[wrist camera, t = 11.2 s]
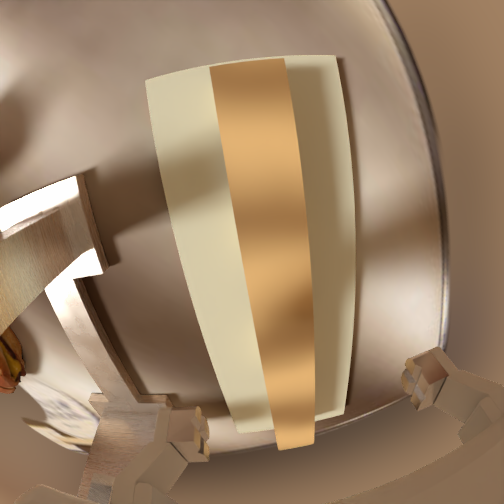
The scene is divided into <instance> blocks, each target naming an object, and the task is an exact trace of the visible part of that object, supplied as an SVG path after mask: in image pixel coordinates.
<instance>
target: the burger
mask: <svg viewBox="0 0 504 504" xmlns="http://www.w3.org/2000/svg"><path fill="white" fill-rule="evenodd" d="M21 348H22V347H21V345H20V342H19V340H18V339H17V337H16V335H15V334H14V332H13V331H12V329H11V328H10V327H9V326H8V328H7V329H6V330H5V331H4V332H3V333H2V334H1V336H0V392H2V393H6V394H10V393H13V392H14V391H15V389H16V388H15V386H16V385H18V383H19V382H21V381H20V376H25V375H26V372H25V371H24V360H23V359H22V356H21V354H22V350H21Z"/></svg>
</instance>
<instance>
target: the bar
mask: <svg viewBox="0 0 504 504" xmlns="http://www.w3.org/2000/svg"><path fill="white" fill-rule="evenodd" d="M209 69H210V75H211V81H212V88H213V94H214V100H215V106H216V112H217V118H218V125H219V131H220V137H221V143H222V148H223V154H224V160H225V166H226V172H227V178H228V184H229V189H230V195H231V201H232V207H233V212H234V218H235V224H236V229H237V235H238V240H239V246H240V252H241V257H242V263H243V268H244V274H245V279H246V285H247V290H248V295H249V301H250V306H251V312H252V317H253V322H254V327H255V333H256V338H257V343H258V349H259V354H260V359H261V364H262V369H263V374H264V380H265V385H266V390H267V395H268V400H269V405H270V410H271V415H272V420H273V425H274V430H275V435H276V440H277V445H278V450H285V449H290V448H295V447H301V446H305V445H310V444H314V426H315V346H314V316H313V294H312V277H311V262H310V249H309V237H308V225H307V215H306V205H305V195H304V186H303V177H302V169H301V161H300V153H299V146H298V139H297V132H296V125H295V118H294V112H293V106H292V99H291V93H290V88H289V82H288V76H287V71H286V66H285V60H284V58H277V59H264V60H254V61H245V62H237V63H230V64H224V65H218V66H212V67H209Z"/></svg>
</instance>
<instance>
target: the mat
mask: <svg viewBox="0 0 504 504" xmlns="http://www.w3.org/2000/svg"><path fill="white" fill-rule="evenodd" d="M277 58H284V60H285V66H286V71H287V76H288V82H289V88H290V93H291V99H292V106H293V112H294V118H295V125H296V132H297V139H298V146H299V153H300V161H301V169H302V177H303V186H304V195H305V205H306V215H307V225H308V237H309V249H310V262H311V277H312V294H313V316H314V346H315V421H317V420H322V419H326V418H330V417H334V416H338V415H341V414H344V408H345V402H346V395H347V387H348V380H349V371H350V362H351V352H352V340H353V327H354V310H355V285H356V230H355V204H354V187H353V174H352V162H351V152H350V143H349V134H348V126H347V119H346V112H345V105H344V99H343V93H342V87H341V81H340V76H339V71H338V66H337V61H336V56H335V55H296V56H276V57H263V58H253V59H244V60H237V61H229V62H223V63H217V64H211V65H206V66H200V67H196V68H191V69H186V70H182V71H178V72H173V73H169V74H166V75H162V76H158V77H155V78H151V79H148V80H145V83H146V91H147V98H148V105H149V112H150V118H151V124H152V130H153V136H154V142H155V148H156V153H157V158H158V164H159V169H160V174H161V179H162V183H163V188H164V193H165V197H166V202H167V206H168V211H169V215H170V219H171V224H172V228H173V232H174V236H175V240H176V244H177V248H178V252H179V256H180V259H181V263H182V267H183V270H184V274H185V278H186V281H187V285H188V288H189V292H190V295H191V299H192V302H193V305H194V309H195V312H196V315H197V319H198V322H199V325H200V328H201V331H202V334H203V338H204V341H205V344H206V347H207V350H208V353H209V356H210V359H211V361H212V364H213V367H214V370H215V373H216V376H217V379H218V381H219V384H220V387H221V390H222V392H223V395H224V398H225V400H226V403H227V406H228V408H229V411H230V413H231V416H232V418H233V421H234V423H235V426H236V428H237V431H238V433H248V432H256V431H264V430H271V429H274V425H273V420H272V415H271V410H270V405H269V400H268V395H267V390H266V385H265V380H264V374H263V369H262V364H261V359H260V354H259V349H258V343H257V338H256V333H255V327H254V322H253V317H252V312H251V306H250V301H249V295H248V290H247V285H246V279H245V274H244V268H243V263H242V257H241V252H240V246H239V240H238V235H237V229H236V224H235V218H234V212H233V207H232V201H231V195H230V189H229V184H228V178H227V172H226V166H225V160H224V154H223V148H222V143H221V137H220V131H219V125H218V118H217V112H216V106H215V100H214V94H213V88H212V81H211V75H210V69H209V67H212V66H218V65H224V64H230V63H237V62H245V61H254V60H264V59H277Z"/></svg>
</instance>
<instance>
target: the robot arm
mask: <svg viewBox="0 0 504 504" xmlns="http://www.w3.org/2000/svg"><path fill="white" fill-rule="evenodd" d="M405 366H406V369H405V370H404V371H403V373H402V377H401V380H402V385H403V388H404V390H405V392H406V393H408V394H410V395H411V402H412V404H413V406H414V407H415V409H416V411H419V410H422V409H424V408H426V407H428V406H431V405H433V404H434V406H436V407H437V408H439V409H441V410H442V411H444V412H446V413H447V414H449V415H451V416H452V417H454V418H456V419H458V420H459V421H461V422H463V423H464V425H463V426H462V428H461V429H460V430H459V432H458V436H459V438H460V439H461V441H462V443H463V445H461V446H459V447H458V448H456V449H455V450H453V451H451V452H450V453H448V454H446V455H445V456H443V457H441V458H439V459H437V460H436V461H434V462H432V463H430V464H428V465H426V466H424V467H422V468H420V469H418V470H416V471H414V472H412V473H410V474H408V475H405V476H403V477H401V478H399V479H396V480H394V481H392V482H389V483H387V484H384V485H382V486H379V487H376V488H374V489H371V490H368V491H365V492H362V493H360V494H356V495H353V496H350V497H346V498H343V499H340V500H336V501H332V502H328V503H325V504H504V387H503V386H502V385H501V384H498V383H495V382H493V381H490V380H487V379H484V378H482V377H479V376H477V375H474V374H472V373H469V372H466V371H464V370H458V369H457V368H456V367H455V366H454V364H453V363H452V362H451V360H450V359H449V358H448V357H447V355H446V354H445V353H444V352H443V350H442V349H441V348H440V347H435V348H433V349H430V350H428V351H425V352H423V353H420V354H418V355H416V356H413V357H411V358H408V359H407V360H406V363H405ZM208 439H209V427H208V423H207V420H206V418H205V417H204V416H202V415H201V409H200V408H199V406H193V407H164V408H160V409H159V411H158V414H157V420H156V426H155V432H154V438H153V442H149V443H148V444H147V445H146V446H145V447H144V448H143V449H142V450H141V451H140V453H139V454H138V455H137V456H136V457H135V458H134V459H133V460H132V461H131V462H130V463H129V464H128V465H127V466H126V467H125V468H124V469H123V470H122V471H121V472H120V473H119V474H118V475H117V476H116V477H115V479H114V484H113V490H112V496H111V501H110V504H178V503H177V502H176V501H175V500H173V499H171V498H170V497H168V496H167V493H168V492H169V490H170V489H171V488H172V486H173V485H174V483H175V482H176V480H177V479H178V478H179V476H180V475H181V473H182V472H183V470H184V469H185V467H186V466H187V464H188V462H205V461H209V446H208V445H207V443H206V441H207V440H208ZM14 504H100V503H97V502H93V501H89V500H86V499H82V498H79V497H76V496H73V495H70V494H67V493H64V492H61V491H58V490H56V489H53V488H50V487H48V486H45V485H41V484H40V485H36V486H34V487H32V488H31V489H29V490H28V491H26V492H25V493H24V494H22V495H21V496H20V497H18V498H17V500H16V501H15V503H14Z"/></svg>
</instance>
